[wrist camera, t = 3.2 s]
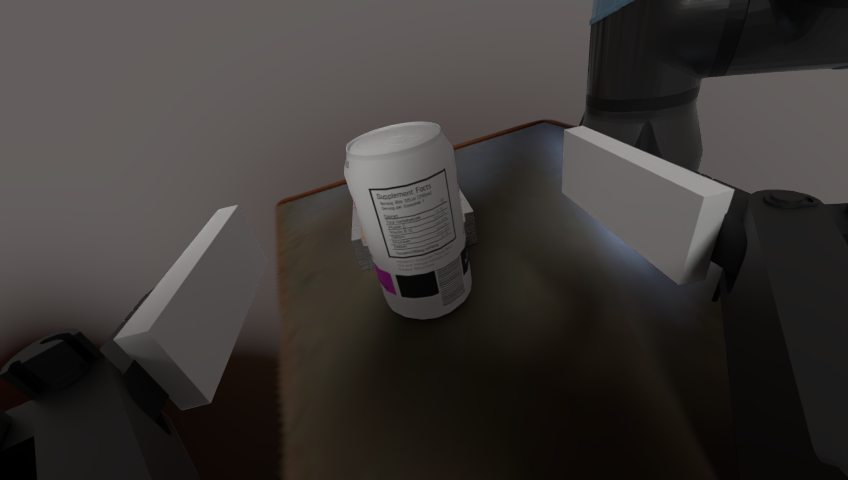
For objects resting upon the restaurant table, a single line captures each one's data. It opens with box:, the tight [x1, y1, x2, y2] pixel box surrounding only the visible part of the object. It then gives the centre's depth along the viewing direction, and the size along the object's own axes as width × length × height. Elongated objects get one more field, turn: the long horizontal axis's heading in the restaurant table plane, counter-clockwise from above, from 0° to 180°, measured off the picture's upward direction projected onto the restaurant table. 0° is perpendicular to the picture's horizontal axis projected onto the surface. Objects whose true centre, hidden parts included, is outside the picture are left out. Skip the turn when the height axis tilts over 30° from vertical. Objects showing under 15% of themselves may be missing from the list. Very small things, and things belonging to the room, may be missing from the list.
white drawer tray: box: [347, 143, 477, 271], centre depth 45 cm, size 22×13×8 cm, turn 9°
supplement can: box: [344, 122, 472, 320], centre depth 29 cm, size 8×8×15 cm
